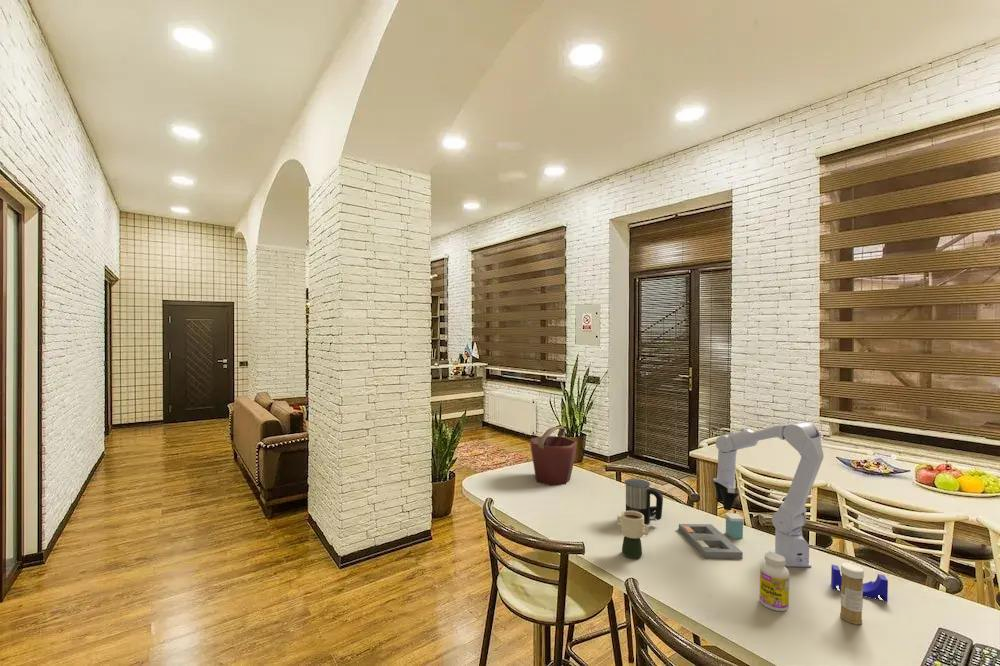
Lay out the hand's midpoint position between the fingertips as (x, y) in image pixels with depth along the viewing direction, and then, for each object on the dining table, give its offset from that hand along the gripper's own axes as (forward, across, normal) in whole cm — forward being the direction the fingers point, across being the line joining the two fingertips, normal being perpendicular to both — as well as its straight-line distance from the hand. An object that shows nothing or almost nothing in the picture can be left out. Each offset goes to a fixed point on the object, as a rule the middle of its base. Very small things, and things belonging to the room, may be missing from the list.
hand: (724, 505), depth 164 cm
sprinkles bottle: (+8, +47, +18) cm, 51 cm away
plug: (+10, +2, +3) cm, 10 cm away
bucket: (+13, -43, -64) cm, 79 cm away
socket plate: (+10, +10, -7) cm, 16 cm away
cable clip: (+9, +32, +27) cm, 43 cm away
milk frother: (+11, -6, -27) cm, 30 cm away
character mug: (+10, +25, -34) cm, 43 cm away
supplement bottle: (+9, +44, +1) cm, 45 cm away
